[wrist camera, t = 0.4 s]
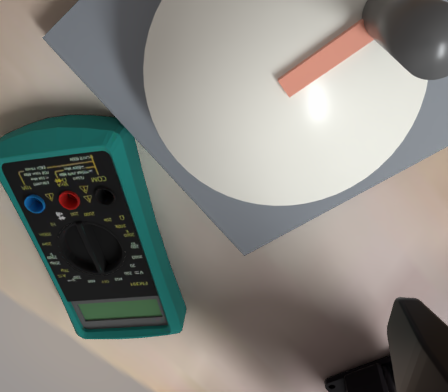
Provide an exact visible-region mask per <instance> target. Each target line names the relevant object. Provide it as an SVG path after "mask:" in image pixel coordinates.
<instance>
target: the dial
mask: <svg viewBox="0 0 448 392" xmlns="http://www.w3.org/2000/svg"><path fill="white" fill-rule="evenodd" d="M143 75H144V89H145V95H146V100H147V105H148V108H149V111H150V114H151V118H152V121H153V123H154V125H155V127H156V129H157V132H158V134H159V136H160V137H161V139H162V141H163V142H164V144H165V145H166V147H167V149H168V150H169V151H170V153H171V154H172V155H173V156H174V158H175V159H176V160H177V161H178V162H179V163H180V164H181V165H182V166H183V167H184V168H185V169H186V170H187V171H188V172H189V173H190V174H191V175H193V176H194V177H195V178H197V179H198V180H199V181H200V182H202V183H204V184H205V185H207V186H209V187H210V188H212V189H214V190H216V191H218V192H220V193H222V194H224V195H226V196H229V197H232V198H235V199H238V200H241V201H245V202H249V203H254V204H260V205H271V206H290V205H298V204H305V203H310V202H314V201H318V200H322V199H325V198H327V197H330V196H333V195H336V194H338V193H340V192H342V191H344V190H346V189H349V188H351V187H352V186H354V185H356V184H357V183H359V182H360V181H362V180H364V179H365V178H367V177H368V176H369V175H370V174H372V173H373V172H374V171H375V170H377V169H378V168H379V167H380V166H381V165H382V164H383V163H384V162H385V161H386V160H387V159H388V158H389V157H390V156H391V155H392V154H393V153H394V152H395V150H396V149H397V148H398V147H399V145H400V144H401V143H402V142H403V140H404V138H405V137H406V135H407V134H408V132H409V130H410V129H411V127H412V125H413V123H414V121H415V119H416V117H417V115H418V113H419V110H420V108H421V105H422V102H423V99H424V96H425V92H426V88H427V82H428V80H437V79H441V78H444V77H447V76H448V2H446V1H443V0H162V1H161V3H160V5H159V7H158V8H157V10H156V12H155V15H154V18H153V21H152V23H151V26H150V29H149V32H148V37H147V41H146V46H145V52H144V64H143Z"/></svg>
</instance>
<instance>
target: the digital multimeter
mask: <svg viewBox="0 0 448 392" xmlns="http://www.w3.org/2000/svg"><path fill="white" fill-rule="evenodd" d="M111 158H112V159H111ZM112 161H113V162H112ZM113 164H114V165H113ZM116 172H117V173H116ZM0 182H1V184H2V186H3V187H4V189H5V191H6V193H7V194H8V196H9V198H10V200H11V201H12V203H13V205H14V207H15V209H16V211H17V213H18V214H19V216H20V218H21V220H22V222H23V224H24V226H25V228H26V230H27V232H28V233H29V235H30V237H31V239H32V241H33V243H34V245H35V247H36V249H37V251H38V253H39V255H40V257H41V259H42V261H43V263H44V265H45V267H46V269H47V271H48V273H49V275H50V277H51V279H52V281H53V283H54V285H55V287H56V289H57V291H58V293H59V295H60V297H61V299H62V302H63V304H64V306H65V308H66V311H67V313H68V315H69V318H70V320H71V322H72V324H73V327H74V329H75V331H76V333H77V335H78V336H80V337H82V338H84V339H130V338H145V337H154V336H162V335H170V334H176V333H180V332H181V331H182V328H183V323H184V319H185V314H186V306H185V303H184V300H183V298H182V295H181V292H180V290H179V287H178V284H177V282H176V279H175V276H174V274H173V271H172V268H171V265H170V263H169V259H168V256H167V253H166V250H165V247H164V244H163V241H162V238H161V235H160V232H159V229H158V226H157V222H156V219H155V215H154V212H153V208H152V204H151V201H150V197H149V193H148V190H147V186H146V182H145V178H144V175H143V171H142V167H141V163H140V159H139V155H138V151H137V146H136V142H135V138H134V136H133V135H132V134H131V133H130V132H129V131H128V130H127V129H126V128H125V127H124V125H123V124H122V123H121V122H120V121H119V120H118V119H117V118H116V117H106V116H96V115H66V116H59V117H52V118H46V119H43V120H40V121H37V122H34V123H31V124H28V125H26V126H23V127H21V128H19V129H17V130H14V131H12V132H10V133H8V134H6V135H4V136H3V137H1V138H0ZM121 187H122V188H121ZM122 190H123V191H122ZM123 193H124V194H123ZM124 196H125V197H124ZM125 199H126V200H125ZM126 202H127V203H126ZM127 204H128V205H127ZM128 207H129V208H128ZM129 210H130V211H129ZM130 213H131V214H130ZM131 216H132V217H131ZM132 219H133V220H132ZM133 222H134V223H133ZM71 223H72V224H71ZM134 225H135V226H134ZM135 228H136V229H135ZM136 231H137V232H136ZM137 234H138V235H137ZM138 237H139V238H138ZM139 240H140V241H139ZM140 242H141V243H140ZM141 245H142V246H141ZM142 248H143V249H142ZM143 251H144V252H143ZM144 254H145V255H144ZM145 257H146V258H145ZM146 260H147V261H146ZM67 262H68V263H67ZM147 263H148V264H147ZM72 266H73V267H72ZM148 266H149V267H148ZM75 268H76V269H75ZM77 269H78V270H77ZM149 269H150V270H149ZM81 271H82V272H81ZM150 272H151V273H150ZM87 273H88V274H87ZM91 274H92V275H91ZM106 274H107V275H106ZM151 275H152V276H151ZM152 278H153V279H152ZM153 281H154V282H153Z"/></svg>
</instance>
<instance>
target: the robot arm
mask: <svg viewBox="0 0 448 392" xmlns="http://www.w3.org/2000/svg"><path fill="white" fill-rule="evenodd" d="M387 337H388V343H389V349H390V355H391V356H388V357H385V358H382V359H380V360H377V361H374V362H371V363H369V364H366V365H363V366H360V367H358V368H355V369H352V370H349V371H346V372H344V373H341V374H338V375H335V376H333V377H330V378H327V379H326V380H325V388H326V389H327V390H328V391H329V392H448V326H447V325H446V324H445V323H444V322H443V321H442V320H441V319H440V318H439V317H437V316H436V315H435V314H434V313H433V312H432V311H431V310H430V309H429V308H428V307H427V306H426V305H424V304H423V303H422V302H421V301H420V300H418V299H416V298H405V297H399V298H396V300H395V301H394V304H393V308H392V311H391V315H390V318H389V322H388V326H387Z"/></svg>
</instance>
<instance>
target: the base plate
mask: <svg viewBox="0 0 448 392" xmlns="http://www.w3.org/2000/svg"><path fill="white" fill-rule="evenodd" d="M161 1H162V0H79V1H78V2H77V3H76V4H75V5H74V6H73V7H72V8H71V9H70V10H69V11H68V12H67V13H66V14H65V15H64V16H63V17H62V18H61V19H60V20H59V21H58V22H57V23H56V24H55V25H54V26H53V27H52V28H51V29H50V30H49V32H48V33H47V34H46V35H45V36H44V37H43V39H44V40H45V41H46V42H47V43H48V45H49V46H50V47H51V48H52V49H53V50H54V51H55V52H56V53H57V54H58V55H59V56H60V58H61V59H62V60H63V61H64V62H65V63H66V64H67V65H68V66H69V67H70V68H71V69H72V70H73V72H74V73H75V74H76V75H77V76H78V77H79V78H80V79H81V80H82V81H83V82H84V83H85V84H86V86H87V87H88V88H89V89H90V90H91V91H92V92H93V93H94V94H95V95H96V96H97V97H98V99H99V100H100V101H101V102H102V103H103V104H104V105H105V106H106V107H107V108H108V109H109V110H110V111H111V113H112V114H113V115H114V116H115V117H116V118H117V119H118V120H119V121H120V122H121V123H122V124H123V125H124V127H125V128H126V129H127V130H128V131H129V132H130V133H131V134H132V135H133V136H134V137H135V138H136V140H137V141H138V142H139V143H140V144H141V145H142V146H143V147H144V148H145V149H146V150H147V151H148V152H149V154H150V155H151V156H152V157H153V158H154V159H155V160H156V161H157V162H158V163H159V164H160V165H161V166H162V168H163V169H164V170H165V171H166V172H167V173H168V174H169V175H170V176H171V177H172V178H173V179H174V181H175V182H176V183H177V184H178V185H179V186H180V187H181V188H182V189H183V190H184V191H185V192H186V193H187V195H188V196H189V197H190V198H191V199H192V200H193V201H194V202H195V203H196V204H197V205H198V206H199V207H200V209H201V210H202V211H203V212H204V213H205V214H206V215H207V216H208V217H209V218H210V219H211V220H212V222H213V223H214V224H215V225H216V226H217V227H218V228H219V229H220V230H221V231H222V232H223V233H224V234H225V236H226V237H227V238H228V239H229V240H230V241H231V242H232V243H233V244H234V245H235V246H236V247H237V248H238V250H239V251H240V252H241V253H242V254H243V255H244V256H245V255H247V254H249V253H251V252H252V251H254V250H256V249H258V248H260V247H262V246H264V245H265V244H267V243H269V242H271V241H273V240H275V239H277V238H278V237H280V236H282V235H284V234H286V233H288V232H290V231H291V230H293V229H295V228H297V227H299V226H301V225H303V224H304V223H306V222H308V221H310V220H312V219H314V218H316V217H317V216H319V215H321V214H323V213H325V212H327V211H329V210H330V209H332V208H334V207H336V206H338V205H340V204H342V203H343V202H345V201H347V200H349V199H351V198H353V197H355V196H356V195H358V194H360V193H362V192H364V191H366V190H368V189H369V188H371V187H373V186H375V185H377V184H379V183H381V182H382V181H384V180H386V179H388V178H390V177H392V176H394V175H395V174H397V173H399V172H401V171H403V170H405V169H407V168H408V167H410V166H412V165H414V164H416V163H418V162H420V161H421V160H423V159H425V158H427V157H429V156H431V155H433V154H434V153H436V152H438V151H440V150H442V149H444V148H446V147H447V146H448V76H447V77H444V78H441V79H437V80H428V82H427V88H426V92H425V96H424V99H423V102H422V105H421V108H420V110H419V113H418V115H417V117H416V119H415V121H414V123H413V125H412V127H411V129H410V130H409V132H408V134H407V135H406V137H405V138H404V140H403V142H402V143H401V144H400V145H399V147H398V148H397V149H396V150H395V152H394V153H393V154H392V155H391V156H390V157H389V158H388V159H387V160H386V161H385V162H384V163H383V164H382V165H381V166H380V167H379V168H378V169H377V170H375V171H374V172H373V173H372V174H370V175H369V176H368V177H367V178H365V179H364V180H362V181H360V182H359V183H357V184H356V185H354V186H352V187H351V188H349V189H346V190H344V191H342V192H340V193H338V194H336V195H333V196H330V197H327V198H325V199H322V200H318V201H314V202H310V203H305V204H298V205H290V206H271V205H260V204H254V203H249V202H245V201H241V200H238V199H235V198H232V197H229V196H226V195H224V194H222V193H220V192H218V191H216V190H214V189H212V188H210V187H209V186H207V185H205V184H204V183H202V182H200V181H199V180H198V179H197V178H195V177H194V176H193V175H191V174H190V173H189V172H188V171H187V170H186V169H185V168H184V167H183V166H182V165H181V164H180V163H179V162H178V161H177V160H176V159H175V158H174V156H173V155H172V154H171V153H170V151H169V150H168V149H167V147H166V145H165V144H164V142H163V141H162V139H161V137H160V136H159V134H158V132H157V129H156V127H155V125H154V123H153V121H152V118H151V114H150V111H149V108H148V105H147V100H146V95H145V89H144V75H143V64H144V52H145V46H146V41H147V37H148V32H149V29H150V26H151V23H152V21H153V18H154V15H155V12H156V10H157V8H158V7H159V5H160V3H161ZM443 1H446V2H448V0H443Z"/></svg>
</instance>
